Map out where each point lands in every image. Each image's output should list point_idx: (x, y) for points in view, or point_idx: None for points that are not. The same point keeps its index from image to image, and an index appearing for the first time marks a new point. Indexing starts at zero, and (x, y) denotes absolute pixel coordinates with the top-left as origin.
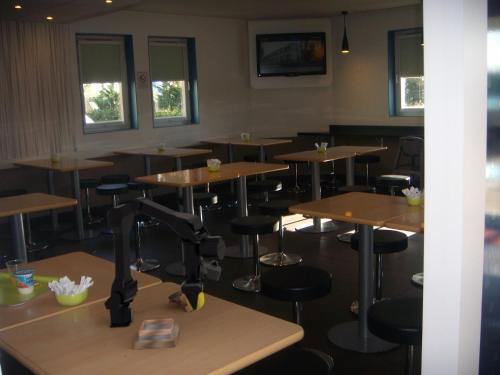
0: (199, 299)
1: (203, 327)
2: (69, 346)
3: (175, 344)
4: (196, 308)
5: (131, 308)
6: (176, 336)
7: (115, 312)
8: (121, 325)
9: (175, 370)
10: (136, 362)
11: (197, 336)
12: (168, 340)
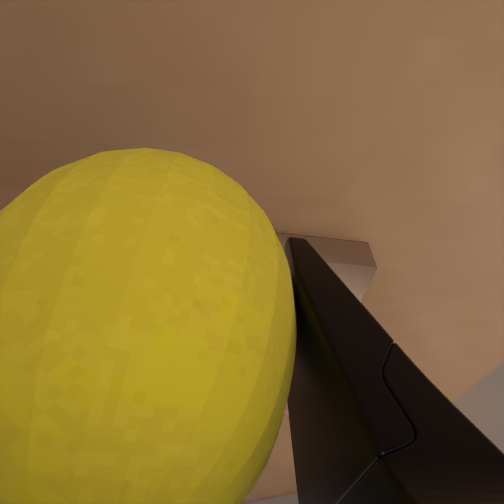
0: (280, 294)
1: (90, 52)
2: None
3: (346, 242)
4: (310, 248)
5: None
6: (283, 247)
7: None
8: None
9: None
10: (439, 358)
11: (260, 113)
12: (361, 292)
